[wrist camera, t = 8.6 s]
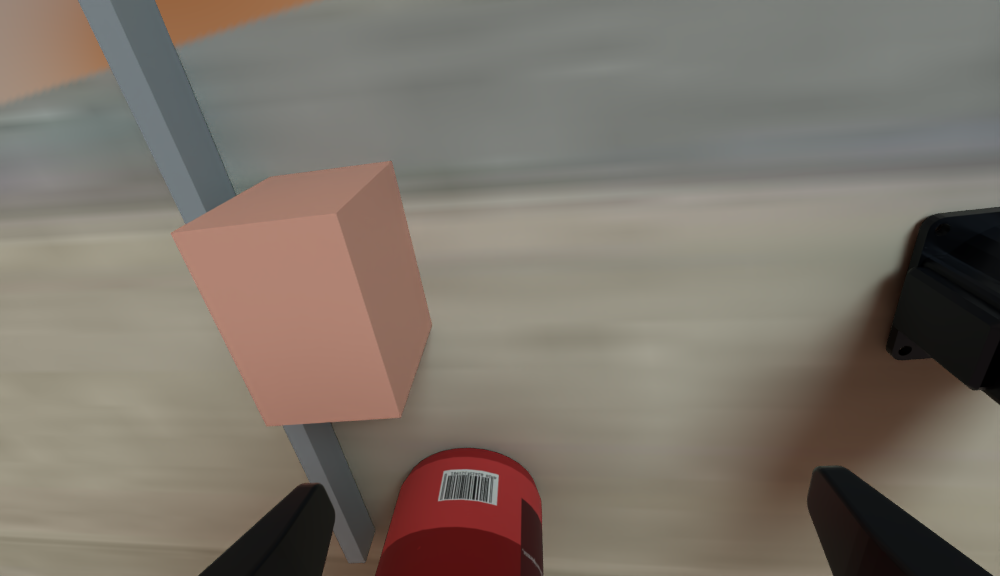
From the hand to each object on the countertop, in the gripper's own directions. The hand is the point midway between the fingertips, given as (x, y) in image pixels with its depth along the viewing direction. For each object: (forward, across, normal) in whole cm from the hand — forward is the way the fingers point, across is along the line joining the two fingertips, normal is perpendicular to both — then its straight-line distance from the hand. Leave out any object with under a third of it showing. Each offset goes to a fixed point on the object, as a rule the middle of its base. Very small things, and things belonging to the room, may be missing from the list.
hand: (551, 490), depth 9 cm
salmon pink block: (+12, +8, 0) cm, 14 cm away
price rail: (+12, +13, +2) cm, 17 cm away
